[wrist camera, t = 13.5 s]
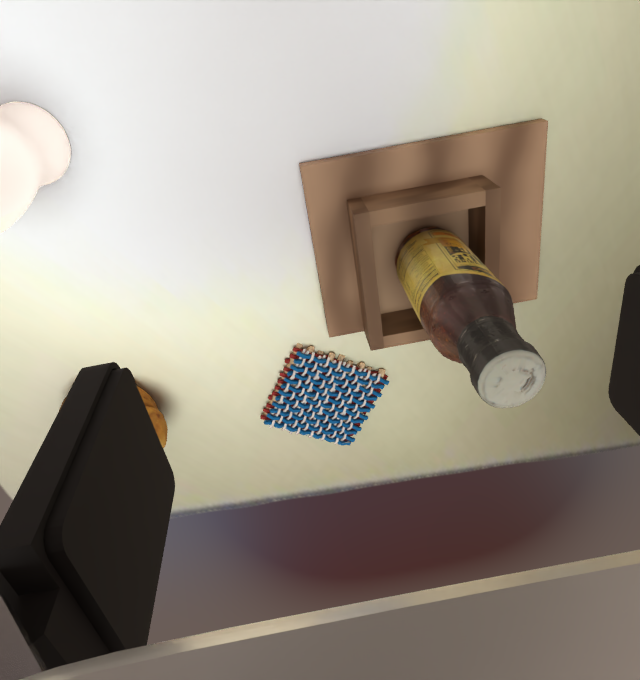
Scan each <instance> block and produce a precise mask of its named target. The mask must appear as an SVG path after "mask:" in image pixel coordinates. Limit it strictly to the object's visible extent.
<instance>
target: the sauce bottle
mask: <svg viewBox="0 0 640 680" xmlns="http://www.w3.org/2000/svg"><path fill="white" fill-rule="evenodd" d="M395 266H396V269H397V275H398V278H399V281H400V283H401V285H402V287H403V289H404V291H405V293H406V295H407V297H408V299H409V301H410V303H411V305H412V307H413V309H414V311H415V313H416V315H417V317H418V319H419V321H420V322H421V324H422V326H423V328H424V330H425V331H426V333H427V334H428V335H429V337H430V339H431V341H432V343H433V345H434V346H435V347H436V349H438V351H439V352H440V353H441V354H442V355H443V356H444V357H446V358H448V359H450V360H452V361H456V362H459V363H463V365H464V366H465V367H466V368H467V369H468V371H469V373H470V378H471V382H472V385H473V386H474V388H475V390H476V391H477V393H478V394H479V396H480V397H481V398H482V399H483V400H484V401H485V402H486V403H488V404H489V405H491V406H493V407H497V408H507V407H510V408H511V407H516V406H519V405H521V404H524V403H525V402H527V401H529V400H531V399H532V398H533V397H534V396H535V395H536V394H537V393H538V392H539V390H540V389H541V388H542V386H543V383H544V381H545V376H546V367H545V363H544V361H543V359H542V358H541V356H540V355H539V354H538V352H537V351H536V349H535V348H534V347H533V346H532V345H531V344H529V343H527V342H525V341H524V340H523V339H522V338H521V336H520V335H519V334H518V332H517V330H516V324H515V316H514V308H513V301H512V297H511V295H510V293H509V291H508V290H507V289H506V288H505V287H504V285H503V284H502V283H501V282H500V281H499V280H498V279H497V278H496V277H495V276H494V275H493V273H492V272H491V271H490V270H489V269H488V268H487V267H486V266H485V265H484V264H483V263H482V262H481V261H480V259H479V258H478V257H477V256H476V255H475V254H474V253H473V252H472V251H471V250H470V249H469V248H468V247H467V246H466V245H465V243H464V242H463V241H462V240H461V239H460V238H459V237H458V236H457V235H455V234H453V233H451V232H449V231H447V230H444V229H442V228H439V227H428V228H424V229H421V230H419V231H416V232H414V233H412V234H411V235H409V236H408V237H407V238H406V239H405V240H404V242H403V243H402V245H401V246H400V248H399V250H398V253H397V256H396V259H395Z"/></svg>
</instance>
